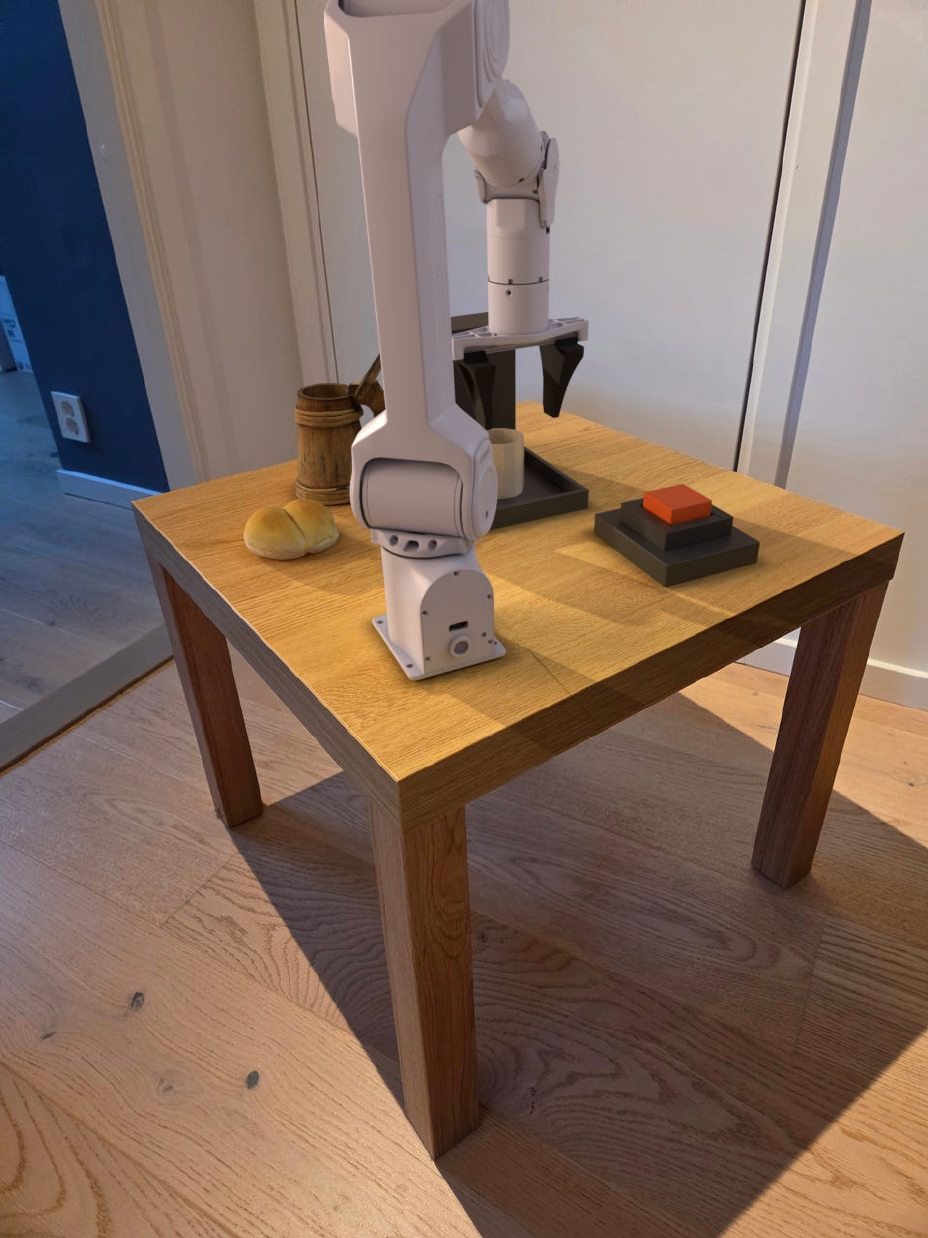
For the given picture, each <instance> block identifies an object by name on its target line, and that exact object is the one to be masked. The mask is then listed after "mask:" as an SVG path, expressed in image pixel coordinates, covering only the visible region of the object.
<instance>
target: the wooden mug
mask: <svg viewBox="0 0 928 1238" xmlns="http://www.w3.org/2000/svg"><path fill="white" fill-rule="evenodd" d="M380 372H382V369H381V359H380V352H379V353H378V355H377V356H376V358H375V360H374V361H373V363H372V364H371V366H370V367H369V369H368V371H366V373H365V374H364V376H363V377H362V379H361V381H360V380H359V381H353V382H350V383H349V384H345V383H341V382H321V383H319V382H318V383H313V384H310V385H306V386H303V387H300V388H299V389H298V390H297V391H296V399H297V403H296V404H295V406H294V421H295V422H296V423H297V425H296V426H297V475H296V477H295V495H296V497H297V499H311V500H315V501H318V502H320V503H322V504H323V505H324V506H332V505H343V504H348V503H349V504H350V503H351V502H350V481H351V475H352V453H351V449H352V444H353V442H354V440H355V438H356V436H357V434H358V433H359V432H360V430H361V429H362V428H363V427H362V425H361V418H362V417H363V416H364V413H365V412H364V409H363V407H362V406H366V407H368V408H369V409H370V411H371V412H372V414H373V419H374V418H375V417H376V416H378V415H379V414H380V413H382V412H383V411H384V410H386V408H385V398H384V389H383V386H382V385H381V384H380V383H379V379H377V378H378V377H379V374H380Z"/></svg>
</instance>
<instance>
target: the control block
mask: <svg viewBox="0 0 928 1238" xmlns="http://www.w3.org/2000/svg"><path fill="white" fill-rule="evenodd" d="M643 499H644V497H641V498H638V499H633V500H632V499H631V500H627V501H623V502H621V503H620V507H619V508H615V509H610V510H605V511H601V512H598V513H595V514H594V523H593V524H594V525H593V535H595V536H596V537H597V538H599V539H600V540H601V541H603V542H604V543H605V544H607V545H608V546H609V547H611V549H613V550H615V551H616V552H617V553H619V554H620V555H621V556H622V557H624V558H625V559H626V560H628V561H629V562H631V563H632V564H633V565H635V566H636V567H637V568H638V569H640V570H641V571H642V572H643V573H645V574H646V575H648V576H649V577H651V578H652V579H653V580H654V581H655V582H656V583H658V584H659V585H661V586H663V587H664V588H668V587H672V586H673V587H674V586H676V585H679V584H684V583H687V582H691V581H694V580H699V579H703V578H705V577H709V576H714V575H717V574H720V573H725V572H728V571H732V570H736V569H740V568H743V567H746V566H751V565H754V564H757V563H758V562H757V561H758V557H759V550H760V544H761V542H760V541H759V540H758V539H756V538H755V537H753V536H751V535H749V534H748V533H746V532H744V531H743V530H741V529H739V528H738V527H736V526H734V525H733V524H734V516H733V515H732V514H730V513H728V512H727V511H725V510H723V509H721V508H720V507H717V506H716V505H715V504H713V503H712V505H711V512H710V516H707V517H702V518H698V519H694V520H690V521H686V522H682V523H678V524H673V525H668V524H667V523H665V522H664V521H662V520H661V519H659V518H658V517H656V516H655V515H653V514H652V513H650V512H649V511H647V510H645V509H644V508H643Z"/></svg>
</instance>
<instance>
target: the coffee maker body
mask: <svg viewBox="0 0 928 1238" xmlns="http://www.w3.org/2000/svg"><path fill="white" fill-rule="evenodd" d="M488 325H489V317H488V311H484V312H477V313H469V314H461V315H453V316H451V333H452V334H457V333H462V332H466V331H469V330H473V329H477V328H481V327H484V326H488ZM516 351H517V349H514V350H507V351H500V352H494V353H487V354H486V358H487V357H488V358H489V362H490V363H492V364H493V365H495V366H496V371H495V376H494V382H493V391H492V418H493V421H492V428H507V429H514V430H516V431H517V427H516V426H517V425H516V424H517V423H516V421H517V419H516V418H517V414H516V411H517V410H516V407H517V406H516V402H517V401H516V399H517V397H516V396H517V395H516V394H517V392H516V390H517V389H516V388H517V385H516V381H517V379H516V378H517V377H516V375H517V374H516V373H517V372H516V371H517V370H516V368H517V367H516V366H517V365H516V363H517V362H516V355H517V354H516V353H517V352H516ZM453 370H454V388H455V403H456V404H457V405H458V406H459V407H460V408H461V409H462V410H463V411H464V412H465V413H467V414H468V415H469V416H470V417H471V418H473V419H474V420H475V421H476V417H475V412H474V408H473V405H472V402H471V399H470V396H469V393H468V390H467V388H466V386H465V383H464V381H463V379H462V377H461V375H460V373H459V371H458V370H457V368H456V366H455V364H454V362H453ZM476 422H477V421H476Z"/></svg>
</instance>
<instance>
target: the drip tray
mask: <svg viewBox="0 0 928 1238" xmlns="http://www.w3.org/2000/svg"><path fill="white" fill-rule="evenodd" d="M589 492H590V491H589V489H588V488H587V487H585V486H583V485H582V484H580V483H579V482H577V481H576V480H575V479H573V478H571V477H570V476H569V475H568V474H566V473H564V472H563V471H562V470H560V469H559V468H558V467H556V466H555V465H553V464H551V463H550V462H548V461H547V460H545V459H544V458H542V457H541V456H540V455H538V454H537V453H535V452H533V451H532V450H531V449H529V448H528V447H526V446H525V445H524V485H523V491H522V493H521V494H519V495H518V496H515V497H512V498H508V499H497V504H496V511H495V515H494V519H493V523H492V525H491V528H490V530H489V531H495V530H497V529H501V528H502V529H503V528H507V527H511V526H515V525H516V526H517V525H519V524H524V523H530V522H533V521H538V520H544V519H546V518H551V517H555V516H560V515H565V514H568V513H574V512H578V511H582V510H587V509H589Z"/></svg>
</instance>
